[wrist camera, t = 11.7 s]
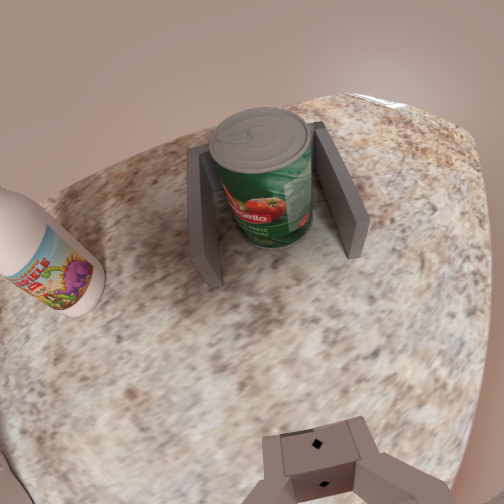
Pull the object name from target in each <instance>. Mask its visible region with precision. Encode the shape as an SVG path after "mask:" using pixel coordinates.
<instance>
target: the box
mask: <svg viewBox="0 0 504 504" xmlns="http://www.w3.org/2000/svg"><path fill="white" fill-rule="evenodd" d="M308 127H309V129H310V134H311V139H310V147H311V167H312V168H311V171H312V170H316V173H317V175H318V178H319V180H320V183H321V185H322V188H323V190H324V193H325V196H326V198H327V201H328V203H329V206H330V209H331V212H332V214H333V217H334V220H335V223H336V225H337V228H338V231H339V234H340V237H341V239H342V242H343V245H344V248H345V251H346V254H347V257H348V260H349V259H354V258H358V257H360V256H361V252H362V249H363V245H364V242H365V238H366V235H367V231H368V228H369V224H370V218H369V216H368V214H367V211H366V209H365V207H364V204H363V202H362V200H361V198H360V196H359V193H358V191H357V189H356V187H355V185H354V183H353V180H352V178H351V176H350V174H349V172H348V170H347V168H346V166H345V164H344V162H343V160H342V158H341V156H340V154H339V152H338V150H337V148H336V146H335V144H334V142H333V141H332V139H331V137H330V135H329V133H328V131H327V129H326V127H325V126H324V124H323V122H322V121H321V122H315V123H308ZM187 178H188V227H189V253H190V260H191V261H192V262H193V264H194V265H195V267H196V268H197V270H198V271H199V272H200V274H201V275H202V277H203V278H204V280H205V281H206V282H207V284H208V285H209V287H210V288H217V287H222V286H223V280H222V271H221V262H220V252H219V243H218V233H217V223H216V213H215V202H214V191H217V190H221V189H224V188H223V185H222V182H221V180H220V177H219V174H218V171H217V169H216V166H215V162H214V159H213V157H212V156H211V153H210V150H209V144H207V145H203V146H199V147H195V148H192V149H188V150H187Z"/></svg>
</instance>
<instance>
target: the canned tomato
mask: <svg viewBox="0 0 504 504" xmlns="http://www.w3.org/2000/svg"><path fill="white" fill-rule="evenodd" d="M310 139H311V134H310V129H309V127H308V124H307V123H306V122H305V121H304V120H303V119H302V118H301V117H300V116H298V115H297V114H295V113H293V112H291V111H287V110H284V109H279V108H268V107H265V108H254V109H249V110H246V111H242V112H239V113H237V114H235V115H233V116H231V117H229V118H227V119H226V120H224V121H223V122H222V123H221V124H219V125H218V127H217V128H216V129H215V130H214V131H213V133H212V135H211V137H210V141H209V150H210V153H211V156H212V157H213V159H214V162H215V166H216V169H217V171H218V174H219V177H220V180H221V182H222V185H223V188H224V191H225V193H226V196H227V199H228V202H229V205H230V207H231V210H232V213H233V216H234V218H235V221H236V223H237V227H238V230H239V233H240V234H241V236H242V237H243V239H245V240H246V241H247V242H248V243H249V244H251V245H253V246H254V247H257V248H260V249H264V250H281V249H286V248H288V247H291V246H293V245H295V244H297V243H298V242H300V241H301V240H302V239H303V238H304V237H305V236H306V235H307V233H308V232H309V230H310V228H311V225H312V220H313V213H312V171H311V168H312V167H311V147H310Z"/></svg>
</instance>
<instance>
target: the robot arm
mask: <svg viewBox="0 0 504 504" xmlns="http://www.w3.org/2000/svg"><path fill="white" fill-rule="evenodd" d="M262 448H263V464H264V480H259V482H258V483H257V484H256V486H255V487H254V488H253V490H252V491H251V492H250V494H249V495H248V496H247V498H246V499H245V500H244V502H243V503H242V504H297V503H301V502H306V501H310V500H315V499H319V498H323V497H328V496H333V495H337V494H342V493H346V492H350V491H353V492H354V493H355V494H356V495H358V496H359V497H360V498H362V499H363V500H364V501H366V502H367V503H368V504H457V503H456V501H455V499H454V497H453V495H452V494H451V492H450V490H449V488H448V486H447V484H446V482H444V481H442V480H439V479H437V478H435V477H433V476H431V475H429V474H426V473H424V472H422V471H420V470H418V469H416V468H414V467H412V466H410V465H408V464H406V463H404V462H402V461H400V460H398V459H396V458H394V457H393V456H391V455H389V454H387V453H385V452H384V453H379V451H378V449H377V446H376V444H375V442H374V439H373V437H372V435H371V433H370V430H369V428H368V426H367V424H366V422H365V419H364V417H362V416H359V417H355V418H352V419H348V420H343V421H340V422H336V423H332V424H328V425H324V426H320V427H316V428H313V429H309V430H303V431H298V432H292V433H285V434H279V435H273V436H266V437H263V439H262ZM0 504H33V503H32V501H31V499H30V498H29V496H28V494H27V493H26V491H25V490H24V488H23V487H22V486H21V484H20V483H19V482H18V480H17V479H16V478H15V477H14V475H13V474H12V472H11V470H10V468H9V466H8V463H7V461H6V459H5V457H4V455H3V454H2V453H1V452H0ZM482 504H504V489H503V490H502V491H500V492H499V493H498V494H496V495H494V496H493V497H491V498H490V499H488V500H487V501H485V502H484V503H482Z"/></svg>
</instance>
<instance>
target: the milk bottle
mask: <svg viewBox="0 0 504 504" xmlns="http://www.w3.org/2000/svg"><path fill="white" fill-rule="evenodd" d="M0 274H1V275H2V276H4V277H5V278H6V279H8V280H9V281H10V282H12V283H13V284H15V285H16V286H18V287H19V288H21V289H22V290H24V291H25V292H27V293H28V294H30V295H31V296H33V297H35V298H36V299H38V300H39V301H41V302H43V303H44V304H46V305H48V306H49V307H51V308H53V309H55V310H56V311H58V312H60V313H62V314H64V315H66V316H68V317H80V316H83V315H85V314H87V313H88V312H90V311H91V310H92V309H93V308H94V307H95V305H96V304H97V303H98V301H99V300H100V298H101V296H102V293H103V290H104V286H105V273H104V270H103V267H102V265H101V263H100V262H99V261H98V260H97V259H96V258H95V257H94V256H93V255H92V254H91V253H90V252H89V251H88V250H87V249H85V248H84V247H83V246H82V245H81V244H80V243H79V242H78V241H77V240H76V239H75V238H74V237H73V236H72V235H71V234H70V233H68V232H67V231H66V230H65V229H64V228H63V227H62V226H61V225H60V224H59V223H58V222H57V221H56V220H55V219H54V218H53V217H52V216H51V215H50V214H49V213H48V212H47V211H45V210H44V209H43V208H42V207H41V206H40V205H39V204H38V203H36V202H35V201H33V200H32V199H30V198H29V197H27V196H25V195H22V194H20V193H17V192H13V191H10V190H7V189H4V188H2V187H0Z"/></svg>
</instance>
